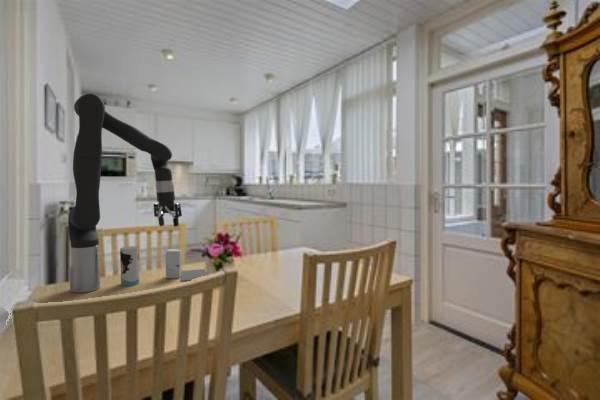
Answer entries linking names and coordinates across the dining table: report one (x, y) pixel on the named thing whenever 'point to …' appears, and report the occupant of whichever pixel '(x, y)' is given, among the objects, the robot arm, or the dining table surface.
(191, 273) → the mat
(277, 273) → the dining table surface
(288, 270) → the dining table surface
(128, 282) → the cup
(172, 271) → the skincare box
